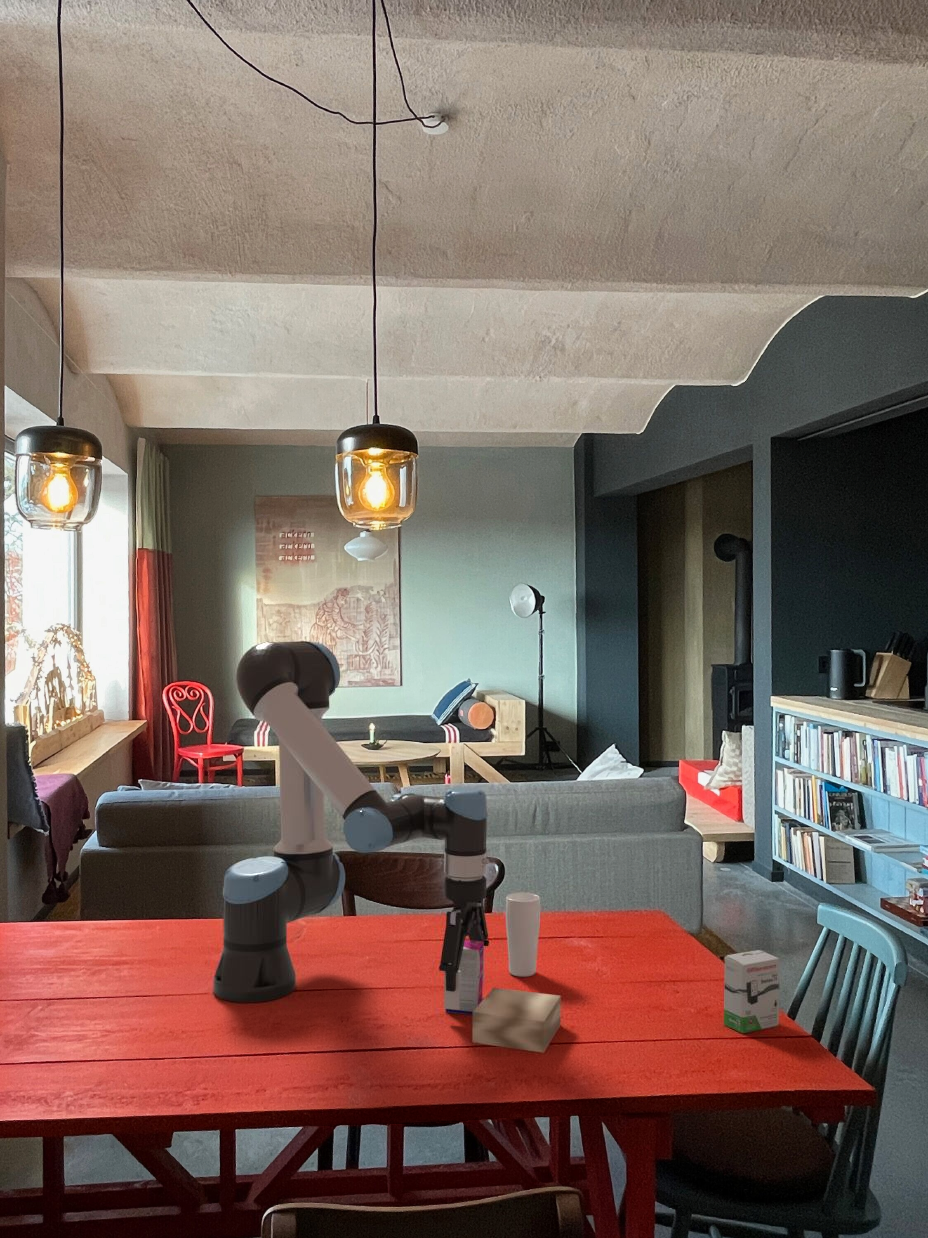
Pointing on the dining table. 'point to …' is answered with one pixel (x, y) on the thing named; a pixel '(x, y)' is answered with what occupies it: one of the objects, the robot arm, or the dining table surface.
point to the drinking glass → (522, 932)
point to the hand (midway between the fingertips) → (464, 995)
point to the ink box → (751, 991)
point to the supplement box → (470, 977)
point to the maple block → (517, 1019)
